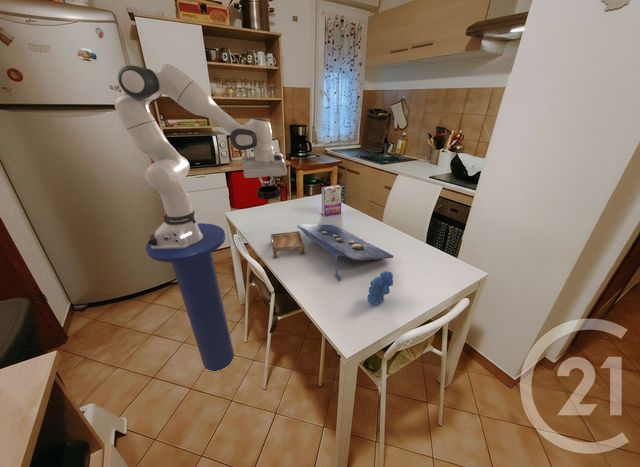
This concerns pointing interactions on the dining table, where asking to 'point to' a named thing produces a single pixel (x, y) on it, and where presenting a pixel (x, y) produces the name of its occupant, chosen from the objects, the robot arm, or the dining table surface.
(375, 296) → the grapes
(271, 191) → the pan
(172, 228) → the robot arm
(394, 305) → the dining table surface
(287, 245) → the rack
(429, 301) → the dining table surface
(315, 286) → the dining table surface
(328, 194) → the candy bar box
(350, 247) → the blue piece
